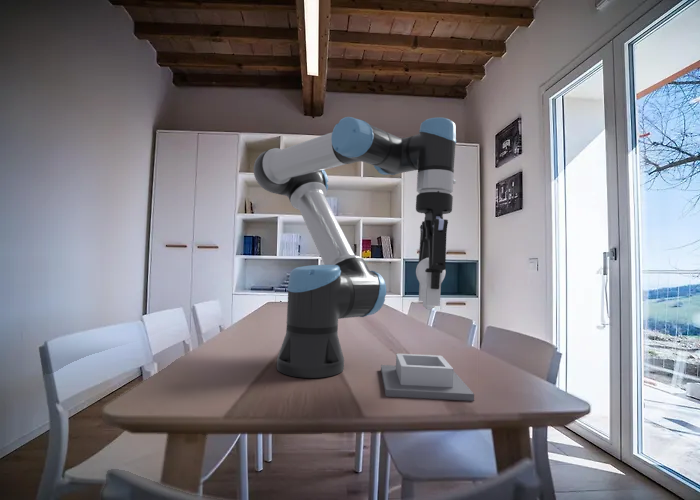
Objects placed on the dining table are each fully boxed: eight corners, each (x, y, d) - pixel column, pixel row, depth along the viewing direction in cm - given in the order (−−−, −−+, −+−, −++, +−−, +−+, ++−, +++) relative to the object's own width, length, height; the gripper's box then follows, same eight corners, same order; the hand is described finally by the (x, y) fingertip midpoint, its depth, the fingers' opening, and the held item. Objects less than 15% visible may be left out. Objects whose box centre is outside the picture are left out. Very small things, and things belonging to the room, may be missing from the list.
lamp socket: (385, 396, 65) (386, 370, 65) (380, 370, 81) (381, 349, 81) (474, 400, 64) (474, 374, 64) (451, 373, 80) (452, 352, 80)
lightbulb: (445, 312, 71) (447, 258, 71) (414, 310, 72) (417, 256, 72) (442, 308, 77) (444, 258, 77) (413, 306, 78) (416, 256, 78)
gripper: (467, 185, 65) (461, 310, 65) (440, 202, 84) (435, 298, 84) (427, 183, 65) (420, 308, 65) (408, 200, 84) (403, 297, 84)
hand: (428, 302), depth 74 cm, fingers closed on lightbulb, 6 cm apart
